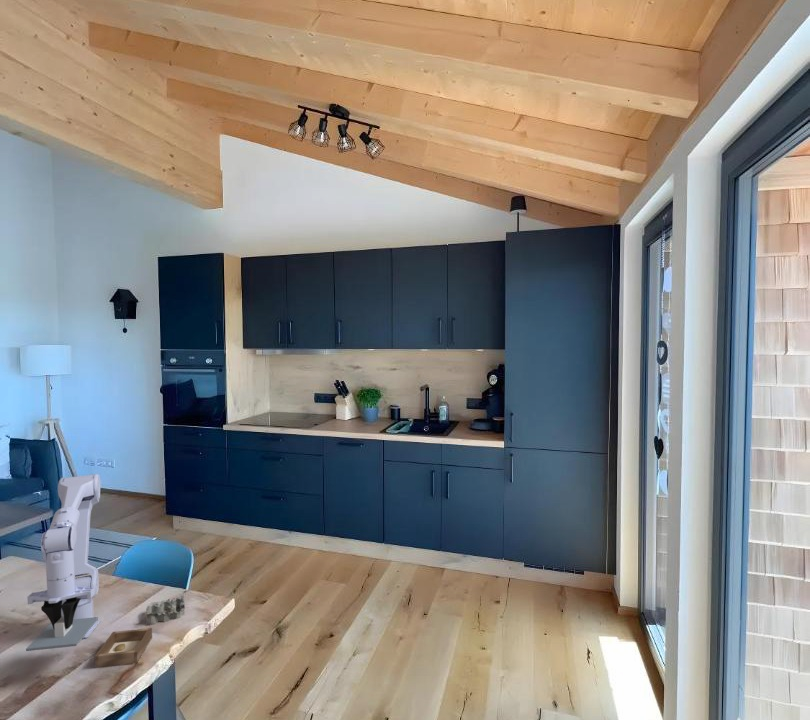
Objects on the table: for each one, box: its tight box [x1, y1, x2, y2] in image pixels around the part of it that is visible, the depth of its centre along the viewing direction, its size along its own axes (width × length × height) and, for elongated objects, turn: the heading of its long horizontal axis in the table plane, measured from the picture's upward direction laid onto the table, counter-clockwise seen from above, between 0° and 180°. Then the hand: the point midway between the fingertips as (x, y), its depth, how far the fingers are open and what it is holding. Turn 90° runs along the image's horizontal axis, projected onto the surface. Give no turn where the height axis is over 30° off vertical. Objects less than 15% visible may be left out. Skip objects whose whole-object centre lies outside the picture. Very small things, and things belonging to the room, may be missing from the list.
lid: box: [25, 615, 99, 652], centre depth 119 cm, size 11×11×4 cm
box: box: [94, 627, 153, 669], centre depth 124 cm, size 10×10×3 cm
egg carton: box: [144, 594, 186, 626], centre depth 140 cm, size 11×8×4 cm
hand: (63, 627), depth 118 cm, fingers closed on lid, 2 cm apart
